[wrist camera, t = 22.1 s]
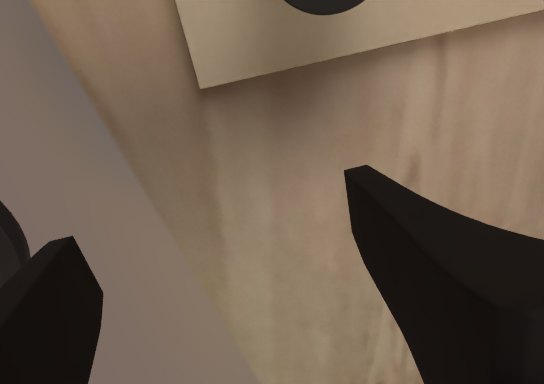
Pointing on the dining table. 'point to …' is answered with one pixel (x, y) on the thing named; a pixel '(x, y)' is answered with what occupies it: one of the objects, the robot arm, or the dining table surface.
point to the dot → (324, 6)
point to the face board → (317, 31)
